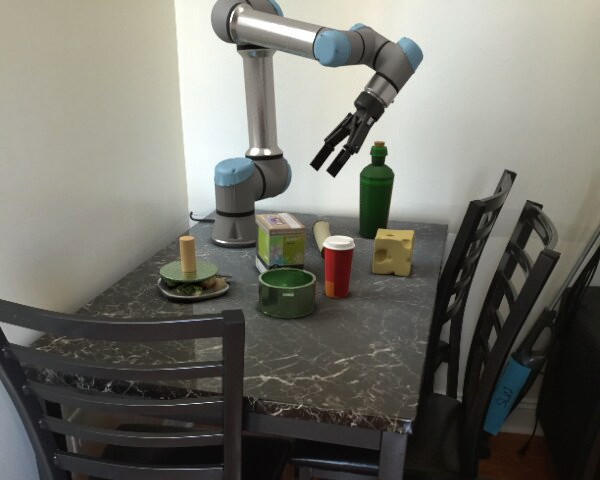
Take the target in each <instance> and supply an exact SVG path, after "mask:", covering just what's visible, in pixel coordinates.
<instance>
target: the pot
mask: <svg viewBox="0 0 600 480" xmlns="http://www.w3.org/2000/svg"><path fill="white" fill-rule="evenodd" d="M316 290H317V276H316V275H315V274H314V273H313V272H311V271H308V270H305V269H304V270H301V269H296V268H291V267H281V268H277V269H271V270H268V271H265V272H263V273H261V272H260V274H259V275H258V309H259V311H260V312H261V313H262V314H263V315H266V316H268V317H271V318H276V319H282V320H283V319H285V320H286V319H288V320H292V319H299V318H303V317H307V316H310V315H311V314H312V313H314V311H315V309H316V297H317V296H316V294H317V293H316V292H317V291H316Z"/></svg>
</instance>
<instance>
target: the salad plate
mask: <svg viewBox="0 0 600 480" xmlns="http://www.w3.org/2000/svg"><path fill="white" fill-rule="evenodd" d="M232 278H233V274H219V273H217V275H215V276H214V277H212V278H210V279H207V280H203V281H197V282H176V281H171V280H168V279H165V278H163V277H162V276H161V275H160V278H159V279H158V280H157V283H156V285H157V287H158V290H159V292H160V293H161V294H162V296H163V297H164V298H165V299H166V300H168V301H170V302H173V303H174V302H175V303H191V302H196V301H197V302H198V301H203V300H208V299H212V298H215V297H219V296H221V295H223V294H224V293H226V292H227V291H228V290H229V289H230V285H229V284H228V283H227V282H225V281H226V280H229V279H232Z"/></svg>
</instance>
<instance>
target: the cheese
mask: <svg viewBox="0 0 600 480" xmlns="http://www.w3.org/2000/svg"><path fill="white" fill-rule="evenodd" d="M414 247H415V230H414V229H388V228H387V229H378V231H377V235H376V238H374V243H373V255H372V274H377V275H378V274H380V275H390V274H393V275H395V276H400V277H410V273H411V265H412V259H413V254H414Z"/></svg>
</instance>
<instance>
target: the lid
mask: <svg viewBox="0 0 600 480" xmlns="http://www.w3.org/2000/svg"><path fill="white" fill-rule="evenodd" d="M178 239H179V251H180V252H179V253H180V260H178V261H172V262H169V263H167V264H165V265H163V266H161V268H160V269H159V275H160V277H161V276H162V277H163V278H165V279H168V280H171V281H176V282H197V281H203V280H207V279H210V278H212V277H214V276H215V275H217V274H219V267H218V266H217V265H216V264H214V263H212V262H208V261H206V260H197V257H196V245H195V244H196V241H195V237H194V236H192V235H184V236H180V237H179V238H178Z"/></svg>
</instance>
